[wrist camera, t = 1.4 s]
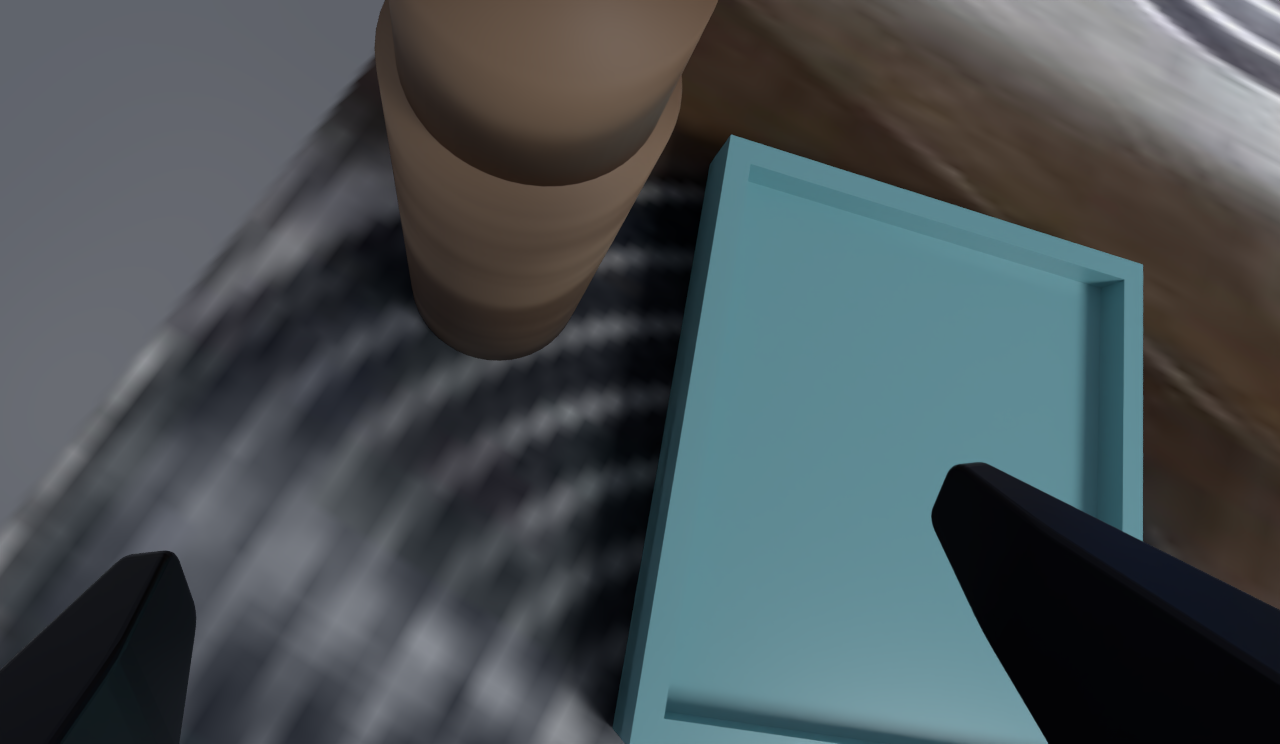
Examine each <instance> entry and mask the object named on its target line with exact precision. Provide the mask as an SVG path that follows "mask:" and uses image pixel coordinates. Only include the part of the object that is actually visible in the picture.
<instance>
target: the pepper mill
mask: <svg viewBox="0 0 1280 744" xmlns="http://www.w3.org/2000/svg"><path fill="white" fill-rule="evenodd" d="M717 2H718V0H385V2H384V4H383V7H382V9H381V11H380V15H379V19H378V23H377V28H376V36H375V59H376V69H377V75H378V81H379V88H380V94H381V100H382V106H383V112H384V118H385V125H386V131H387V137H388V143H389V149H390V155H391V162H392V168H393V174H394V180H395V186H396V192H397V199H398V205H399V211H400V217H401V223H402V229H403V236H404V242H405V248H406V254H407V260H408V266H409V273H410V279H411V285H412V291H413V295H414V300H415V303H416V305H417V308H418V311H419V313H420V314H421V316H422V318H423V320H424V321H425V323H426V324H427V325H428V327H429V328H430V329H431V331H432V332H433V333H434V334H435V335H436V336H437V337H438V338H439V339H441V340H442V341H443V342H445V343H446V344H447V345H449V346H450V347H452V348H454V349H455V350H457V351H459V352H462V353H464V354H466V355H469V356H472V357H476V358H480V359H486V360H499V361H501V360H512V359H516V358H521V357H524V356H527V355H530V354H532V353H534V352H536V351H538V350H540V349H542V348H543V347H545V346H546V345H548V344H549V343H551V342H552V341H553V340H554V339H555V338H556V337H557V336H558V335H559V334H560V333H561V331H562V330H563V329H564V328H565V326H566V324H567V323H568V321H569V320H570V318H571V316H572V314H573V312H574V310H575V309H576V307H577V305H578V303H579V301H580V300H581V298H582V296H583V294H584V292H585V291H586V289H587V287H588V285H589V283H590V282H591V280H592V278H593V276H594V274H595V272H596V271H597V269H598V267H599V265H600V263H601V262H602V260H603V258H604V256H605V254H606V253H607V251H608V249H609V247H610V245H611V244H612V242H613V240H614V238H615V236H616V234H617V233H618V231H619V229H620V227H621V225H622V224H623V222H624V220H625V218H626V216H627V215H628V213H629V211H630V209H631V207H632V206H633V204H634V202H635V200H636V198H637V196H638V195H639V193H640V191H641V189H642V187H643V186H644V184H645V182H646V180H647V178H648V177H649V175H650V173H651V171H652V169H653V168H654V166H655V164H656V162H657V160H658V158H659V157H660V155H661V153H662V151H663V149H664V148H665V146H666V144H667V142H668V140H669V138H670V136H671V134H672V132H673V129H674V127H675V125H676V121H677V118H678V114H679V110H680V105H681V96H682V72H683V70H684V68H685V66H686V64H687V62H688V60H689V58H690V56H691V55H692V53H693V51H694V49H695V47H696V45H697V43H698V41H699V39H700V37H701V35H702V33H703V31H704V29H705V27H706V25H707V23H708V21H709V19H710V17H711V15H712V13H713V11H714V9H715V6H716V4H717Z"/></svg>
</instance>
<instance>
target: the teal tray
mask: <svg viewBox="0 0 1280 744" xmlns="http://www.w3.org/2000/svg"><path fill="white" fill-rule="evenodd" d="M972 462H983V463H987V464H989V465H991V466H993V467H995V468H997V469H999V470H1001V471H1003V472H1005V473H1007V474H1009V475H1011V476H1013V477H1015V478H1017V479H1019V480H1021V481H1023V482H1025V483H1027V484H1029V485H1031V486H1033V487H1035V488H1037V489H1039V490H1041V491H1043V492H1045V493H1047V494H1049V495H1051V496H1053V497H1055V498H1057V499H1059V500H1061V501H1063V502H1065V503H1067V504H1069V505H1071V506H1073V507H1075V508H1077V509H1079V510H1081V511H1083V512H1085V513H1087V514H1089V515H1091V516H1093V517H1095V518H1097V519H1099V520H1101V521H1103V522H1105V523H1107V524H1109V525H1111V526H1113V527H1115V528H1117V529H1119V530H1121V531H1123V532H1125V533H1127V534H1129V535H1131V536H1133V537H1135V538H1137V539H1139V540H1141V541H1143V265H1142V264H1139V263H1136V262H1133V261H1130V260H1126V259H1123V258H1120V257H1117V256H1114V255H1111V254H1107V253H1104V252H1101V251H1098V250H1095V249H1092V248H1088V247H1085V246H1082V245H1079V244H1076V243H1073V242H1069V241H1066V240H1063V239H1060V238H1057V237H1054V236H1050V235H1047V234H1044V233H1041V232H1038V231H1035V230H1031V229H1028V228H1025V227H1022V226H1019V225H1016V224H1012V223H1009V222H1006V221H1003V220H1000V219H997V218H993V217H990V216H987V215H984V214H981V213H978V212H974V211H971V210H968V209H965V208H962V207H959V206H955V205H952V204H949V203H946V202H943V201H940V200H936V199H933V198H930V197H927V196H924V195H921V194H917V193H914V192H911V191H908V190H905V189H902V188H898V187H895V186H892V185H889V184H886V183H883V182H879V181H876V180H873V179H870V178H867V177H864V176H860V175H857V174H854V173H851V172H848V171H845V170H841V169H838V168H835V167H832V166H829V165H826V164H823V163H819V162H816V161H813V160H810V159H807V158H804V157H800V156H797V155H794V154H791V153H788V152H785V151H781V150H778V149H775V148H772V147H769V146H766V145H762V144H759V143H756V142H753V141H750V140H747V139H743V138H740V137H737V136H734V135H730V137H729V138H728V139H727V141H726V142H725V144H724V145H723V147H722V148H721V149H720V151H719V152H718V154H717V155H716V156H715V158H714V159H713V161H712V162H711V164H710V166H709V172H708V178H707V183H706V189H705V195H704V201H703V206H702V212H701V218H700V224H699V230H698V235H697V241H696V247H695V253H694V259H693V264H692V270H691V276H690V282H689V288H688V293H687V299H686V305H685V311H684V317H683V322H682V328H681V334H680V340H679V345H678V351H677V357H676V363H675V369H674V374H673V380H672V386H671V392H670V398H669V403H668V409H667V415H666V421H665V427H664V432H663V438H662V444H661V450H660V456H659V461H658V467H657V473H656V479H655V485H654V490H653V496H652V502H651V508H650V513H649V519H648V525H647V531H646V537H645V542H644V548H643V554H642V560H641V566H640V571H639V577H638V583H637V589H636V595H635V600H634V606H633V612H632V618H631V624H630V629H629V635H628V641H627V647H626V652H625V658H624V664H623V670H622V676H621V681H620V687H619V693H618V699H617V705H616V710H615V716H614V722H613V729H614V731H615V732H616V733H617V734H618V736H619V737H620V738H621V739H622V740H623V742H624V743H625V744H1048V742H1047V741H1046V739H1045V737H1044V736H1043V734H1042V732H1041V731H1040V729H1039V727H1038V725H1037V724H1036V722H1035V720H1034V719H1033V717H1032V715H1031V714H1030V712H1029V710H1028V709H1027V707H1026V705H1025V704H1024V702H1023V700H1022V698H1021V697H1020V695H1019V693H1018V692H1017V690H1016V688H1015V687H1014V685H1013V683H1012V682H1011V680H1010V678H1009V676H1008V675H1007V673H1006V671H1005V670H1004V668H1003V666H1002V665H1001V663H1000V661H999V660H998V658H997V656H996V654H995V653H994V651H993V649H992V648H991V646H990V644H989V642H988V640H987V639H986V637H985V635H984V633H983V632H982V630H981V628H980V626H979V624H978V622H977V620H976V618H975V616H974V614H973V611H972V609H971V607H970V605H969V603H968V601H967V599H966V597H965V594H964V592H963V590H962V588H961V586H960V584H959V582H958V580H957V577H956V575H955V573H954V571H953V569H952V567H951V565H950V563H949V561H948V558H947V556H946V554H945V552H944V550H943V548H942V546H941V544H940V541H939V539H938V537H937V535H936V533H935V531H934V528H933V525H932V521H931V512H932V508H933V505H934V503H935V501H936V498H937V496H938V494H939V491H940V489H941V486H942V484H943V482H944V479H945V477H946V475H947V473H948V471H949V469H950V468H952V467H953V466H954V465H957V464H963V463H972Z"/></svg>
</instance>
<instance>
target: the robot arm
mask: <svg viewBox="0 0 1280 744" xmlns="http://www.w3.org/2000/svg"><path fill="white" fill-rule="evenodd" d="M931 521H932V525H933V528H934V531H935V533H936V535H937V537H938V539H939V541H940V544H941V546H942V548H943V550H944V552H945V554H946V556H947V558H948V561H949V563H950V565H951V567H952V569H953V571H954V573H955V575H956V577H957V580H958V582H959V584H960V586H961V588H962V590H963V592H964V594H965V597H966V599H967V601H968V603H969V605H970V607H971V609H972V611H973V614H974V616H975V618H976V620H977V622H978V624H979V626H980V628H981V630H982V632H983V633H984V635H985V637H986V639H987V640H988V642H989V644H990V646H991V648H992V649H993V651H994V653H995V654H996V656H997V658H998V660H999V661H1000V663H1001V665H1002V666H1003V668H1004V670H1005V671H1006V673H1007V675H1008V676H1009V678H1010V680H1011V682H1012V683H1013V685H1014V687H1015V688H1016V690H1017V692H1018V693H1019V695H1020V697H1021V698H1022V700H1023V702H1024V704H1025V705H1026V707H1027V709H1028V710H1029V712H1030V714H1031V715H1032V717H1033V719H1034V720H1035V722H1036V724H1037V725H1038V727H1039V729H1040V731H1041V732H1042V734H1043V736H1044V737H1045V739H1046V741H1047V742H1048V744H1280V610H1279V609H1277V608H1275V607H1273V606H1271V605H1269V604H1267V603H1265V602H1263V601H1261V600H1259V599H1257V598H1255V597H1253V596H1251V595H1249V594H1247V593H1245V592H1243V591H1241V590H1239V589H1237V588H1235V587H1233V586H1231V585H1229V584H1227V583H1225V582H1223V581H1221V580H1219V579H1217V578H1215V577H1213V576H1211V575H1209V574H1207V573H1205V572H1203V571H1201V570H1199V569H1197V568H1195V567H1193V566H1191V565H1189V564H1187V563H1185V562H1183V561H1181V560H1179V559H1177V558H1175V557H1173V556H1171V555H1169V554H1167V553H1165V552H1163V551H1161V550H1159V549H1157V548H1155V547H1153V546H1151V545H1149V544H1147V543H1145V542H1143V541H1141V540H1139V539H1137V538H1135V537H1133V536H1131V535H1129V534H1127V533H1125V532H1123V531H1121V530H1119V529H1117V528H1115V527H1113V526H1111V525H1109V524H1107V523H1105V522H1103V521H1101V520H1099V519H1097V518H1095V517H1093V516H1091V515H1089V514H1087V513H1085V512H1083V511H1081V510H1079V509H1077V508H1075V507H1073V506H1071V505H1069V504H1067V503H1065V502H1063V501H1061V500H1059V499H1057V498H1055V497H1053V496H1051V495H1049V494H1047V493H1045V492H1043V491H1041V490H1039V489H1037V488H1035V487H1033V486H1031V485H1029V484H1027V483H1025V482H1023V481H1021V480H1019V479H1017V478H1015V477H1013V476H1011V475H1009V474H1007V473H1005V472H1003V471H1001V470H999V469H997V468H995V467H993V466H991V465H989V464H987V463H983V462H972V463H963V464H957V465H954V466H953V467H952V468H950V469H949V471H948V473H947V475H946V477H945V479H944V482H943V484H942V486H941V489H940V491H939V494H938V496H937V498H936V501H935V503H934V505H933V508H932V512H931ZM195 630H196V610H195V605H194V601H193V598H192V596H191V593H190V590H189V587H188V584H187V581H186V578H185V576H184V573H183V570H182V567H181V564H180V561H179V559H178V557H177V556H176V555H175V554H174V553H173V552H171V551H157V552H148V553H139V554H131V555H128V556H125V557H123V558H122V559H120V560H119V561H118V562H116V563H115V564H114V565H113V566H112V567H111V568H110V569H109V570H108V571H107V572H105V573H104V574H103V575H102V576H101V577H100V578H99V579H98V580H97V581H96V582H95V583H94V584H92V585H91V586H90V587H89V588H88V589H87V590H86V591H85V592H84V593H83V594H82V595H81V596H79V597H78V598H77V599H76V600H75V601H74V602H73V603H72V604H71V605H70V606H69V607H68V608H66V609H65V610H64V611H63V612H62V613H61V614H60V615H59V616H58V617H57V618H56V619H55V620H54V621H52V622H51V623H50V624H49V625H48V626H47V627H46V628H45V629H44V630H43V631H42V632H41V633H39V634H38V635H37V636H36V637H35V638H34V639H33V640H32V641H31V642H30V643H29V644H28V645H26V646H25V647H24V648H23V649H22V650H21V651H20V652H19V653H18V654H17V655H16V656H15V657H13V658H12V659H11V660H10V661H9V662H8V663H7V664H6V665H5V666H4V667H3V668H2V669H0V744H179V741H180V734H181V727H182V720H183V714H184V707H185V700H186V693H187V686H188V679H189V672H190V665H191V658H192V651H193V644H194V637H195Z"/></svg>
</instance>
